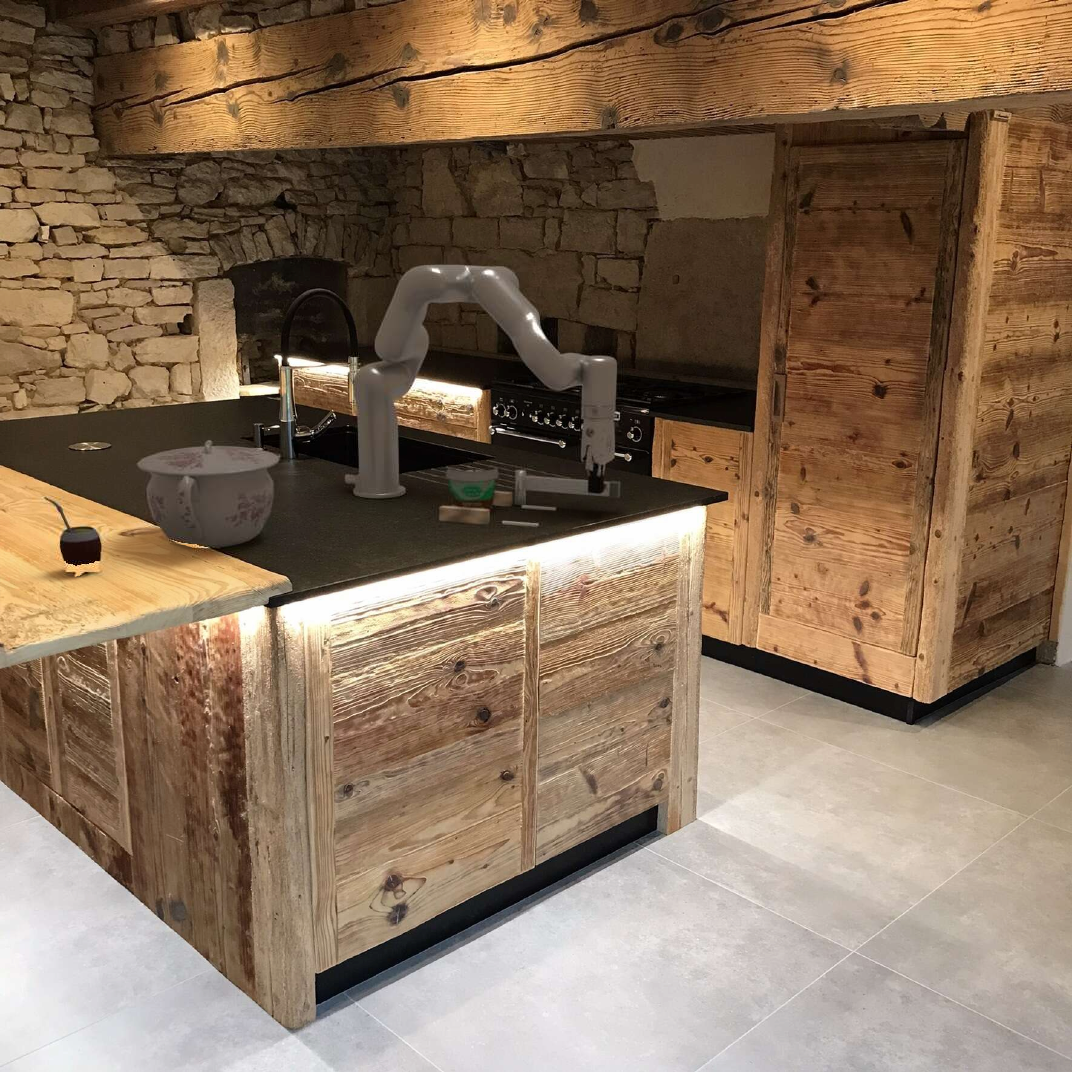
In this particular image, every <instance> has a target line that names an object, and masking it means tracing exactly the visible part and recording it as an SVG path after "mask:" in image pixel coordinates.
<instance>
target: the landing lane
mask: <svg viewBox="0 0 1072 1072" xmlns="http://www.w3.org/2000/svg"><path fill="white" fill-rule="evenodd" d="M521 509H530V510H531V509H532V510H541V511H542V510H543V511H544V510H545V511H556V510H557V507H556V506H542V505H541V506H539V505H531V504H530V505H526V504H525V505H521ZM501 524H502V525H507V526H510V525H511V526H521V527H533V528H538V527H539V525H540V524H539V523H538V522H537V523H536V522H533V523H532V522H524V521H512V520H511V521H509V520H502V522H501Z"/></svg>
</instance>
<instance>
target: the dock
mask: <svg viewBox="0 0 1072 1072" xmlns="http://www.w3.org/2000/svg"><path fill="white" fill-rule="evenodd" d="M512 505H513V492H512V491H500V490H494V499H493V506H499V507H511V506H512ZM438 509H439V510H438V511H439V513H438V515H439V516H438V517H439V521H440V522H451V523H461V524H462V523H463V524H474V525H484V526H485V525H486V526H487V525H488V524H490V522H491V521H490V520H491V519H490V518H491V517H490V514H491V512H490V509H480V508H467V507H454V506H452V505H451V506H450V505H441V506H439V508H438Z"/></svg>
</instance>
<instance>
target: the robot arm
mask: <svg viewBox="0 0 1072 1072" xmlns="http://www.w3.org/2000/svg"><path fill="white" fill-rule="evenodd" d="M519 282H520V281H519V279H518V277H517V275H516V274H515V272H514V271H513V270H512V269H510V268H508V267H506V266H501V265H500V266H499V265H498V266H496V265H495V266H494V265H493V266H490V265H488V266H487V265H485V266H484V265H483V266H481V265H465V264H424V265H419V266H418V265H417V266H414V267H412V268H410V269H409V270H408V271H406V272H405V273H403V275H402V276H401V278H400V280H399V282H398V284H397V286H396V288H395V291H394V295H392V296H393V297H392V299H391V302H390V303H389V305H388V308H387V310H386V312H385V315H384V317H383V319H382V322H381V324H380V327H379V329H378V330H377V334H376V336H375V340H374V351H375V353H376V355H377V356H378V357H379V358H380V359H381V361H376V362H371V363H368V364H366V365H364V366H362V367H360V369H358V371H357V372H356V374H355V375H354V378H353V384H352V388H353V389H352V390H353V395H354V401H355V404H356V415H357V417H356V418H357V432H358V433H357V437H358V438H357V440H358V441H357V443H358V474H356V475H354V474H345V476H344V482H345V484H348V485H351V484H354V486H355V487H354V488H353V489H352V490H353V495H354V496H356V497H359V498H367V499H389V498H390V499H391V498H392V499H393V498H396V497H397V498H398V497H400V496H403V495H405V493H406V487H404V486H403V485H400V477H399V476H400V475H399V473H400V471H399V469H400V467H399V466H400V465H399V463H400V462H399V423H398V414H397V410H396V405H395V401H394V400H396V399H397V400H398V399H399V398H402V397H404V396H405V395H407V394H408V393H409V391H410V390H411V388H412V387H413V385H414V383H415V380H416V378H417V377H418V373H419V371H420V369H421V367H422V364H423V363H424V360H425V358H426V355H427V352H428V349H429V346H430V345H429V344H430V339H429V334H428V331H427V328H425V326H424V324H423V323H424V320H425V318H426V315H427V311H428V305H429V304H430V303H435V304H436V303H438V304H446V303H448V304H449V303H477V304H479V305H480V306H481V308H483V309H484V310H485V312H486V313H487V314H489V316H490V317H491V318H492V319H493V320H494V322H496V324H498V325H499V327H500V328H501V329H502V330H503V331H504V332H505V334H506V335H508V337H509V338H510V340H511V342H512V344H513V346H514V348H515V350H516V351H517V354H518V355H519V357H520V358H521V360H522V361H523V363H524V364H525V366H526V367H528V368H529V370H530V371H531V372H532V373H533V374H534V376H536V377H537V379H539V381H540V382H541V383H543V384H544V386H546V387H548V388H549V389H551V390H555V391H564V390H567V389H569V388H573V387H577V386H581V411H580V413H581V415H580V416H581V417H580V418H581V420H583V425H582V432H581V433H582V434H581V446H580V447H581V448H580V460H581V463H583V464H584V465H585V471H587V477H588V478H587V480H588V492H589V493H596V494H601V493H602V492H603V489H604V481H605V472H606V464H607V463H609V462H611V461H613V460H614V459H615V455H616V454H615V453H616V449H615V448H616V439H615V438H616V435H615V434H616V433H615V430H616V428H615V422H614V420H615V419H616V397H617V376H618V375H617V373H618V362H617V360H616V359H615V358H614V357H612V356H609V355H591V356H590V355H585V354H581V353H576V352H575V353H574V352H567V353H566V352H565V353H562V354H561V353H560V352H559V350H558V349H556V347H555V346H554V345H553V343H551V341H550V340H549V339H548V338H547V336H546V335H545V333H544V332H543V329H542V327H541V317H540V313H539V311H538V309H537V308H536V307H535V306H534V305H533V304H532V303H531V302H530V301H529V299H527V298H526V296H524V294H523V293H522V292H521V291H520V283H519Z"/></svg>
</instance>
